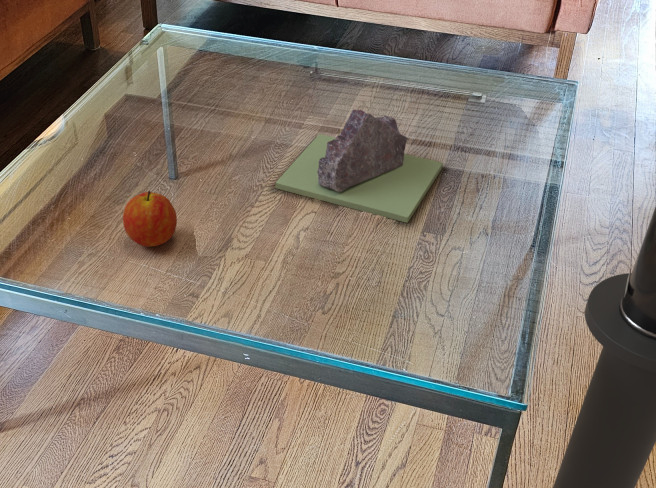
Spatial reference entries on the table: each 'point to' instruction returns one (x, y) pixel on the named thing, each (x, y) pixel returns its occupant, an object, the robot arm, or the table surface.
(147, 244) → the fruit
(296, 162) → the mat
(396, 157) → the stone
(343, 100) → the table surface
